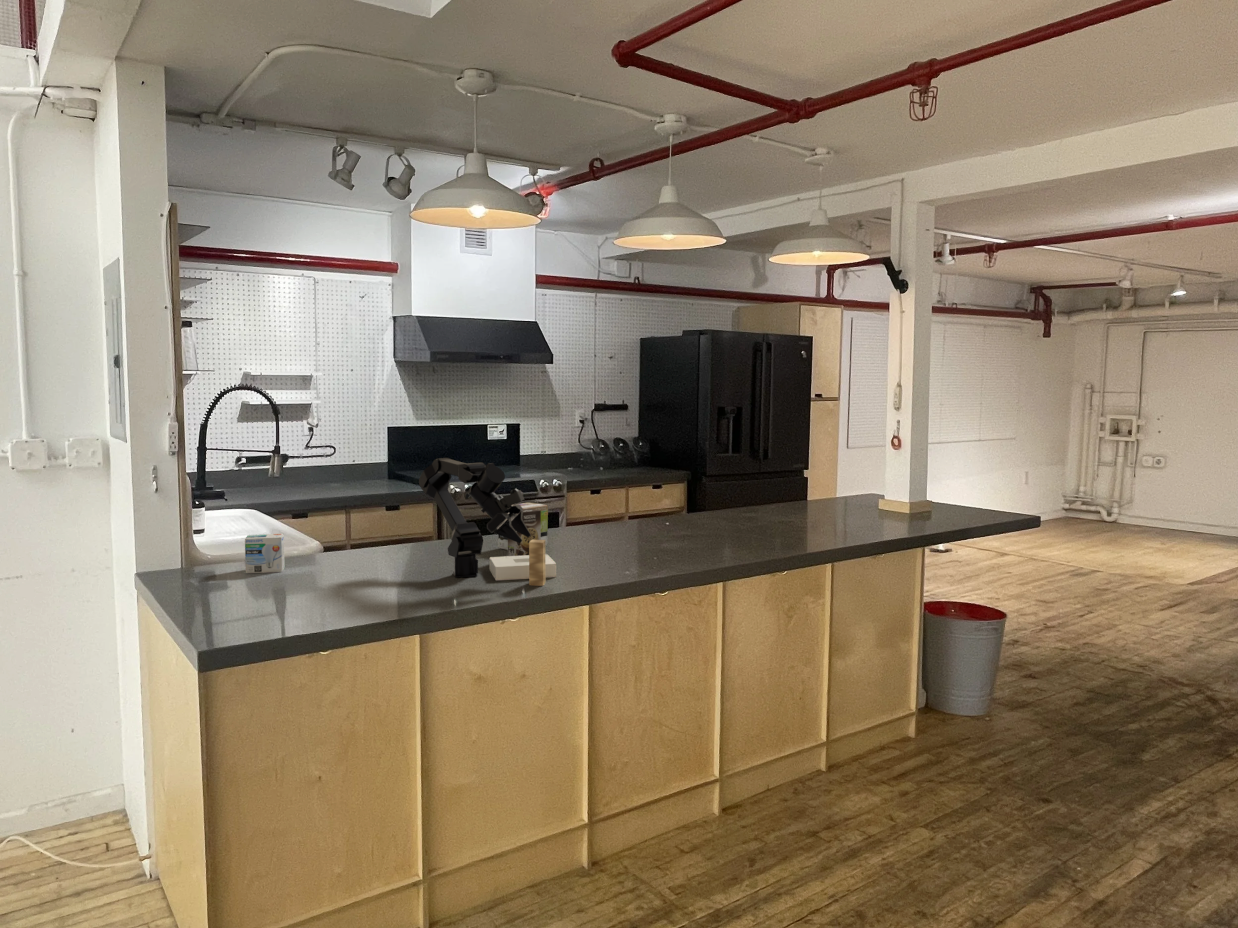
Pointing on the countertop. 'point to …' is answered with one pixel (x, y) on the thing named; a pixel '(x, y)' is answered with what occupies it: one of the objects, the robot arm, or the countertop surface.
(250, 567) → the light bulb box
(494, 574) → the white flat block
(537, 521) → the coffee box
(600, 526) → the countertop surface
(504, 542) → the tea box
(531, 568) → the tan wooden block
